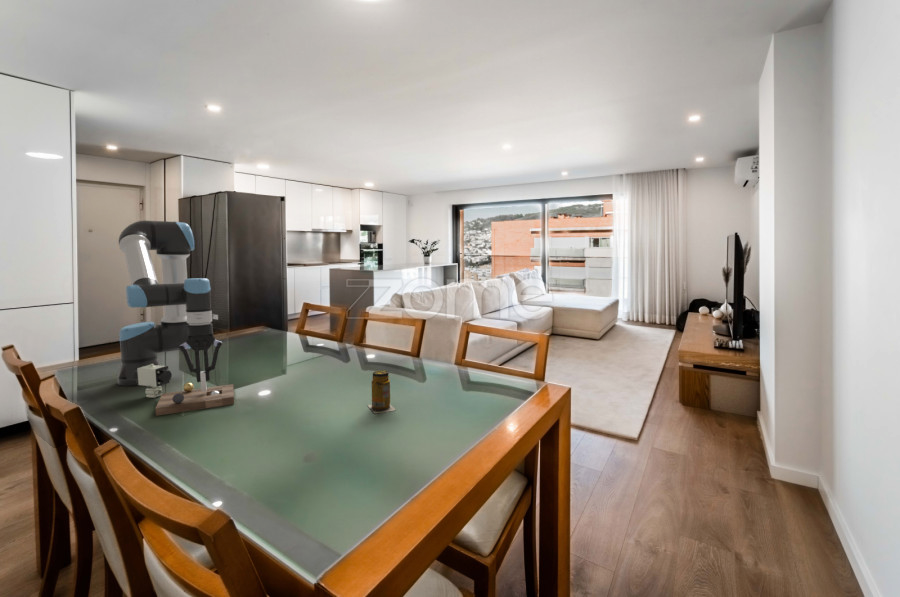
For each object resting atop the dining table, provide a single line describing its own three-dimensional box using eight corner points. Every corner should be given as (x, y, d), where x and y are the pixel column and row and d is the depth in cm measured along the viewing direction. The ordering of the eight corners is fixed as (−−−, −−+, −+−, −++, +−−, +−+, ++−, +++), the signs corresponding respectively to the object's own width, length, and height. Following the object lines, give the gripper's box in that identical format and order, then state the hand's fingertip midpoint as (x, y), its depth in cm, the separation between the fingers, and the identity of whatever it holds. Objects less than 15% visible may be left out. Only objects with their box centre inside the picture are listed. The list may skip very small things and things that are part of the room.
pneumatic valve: (162, 399, 145) (159, 366, 144) (134, 397, 147) (132, 364, 146) (175, 394, 150) (173, 362, 149) (149, 392, 153) (146, 361, 151)
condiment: (388, 402, 142) (387, 368, 141) (396, 410, 134) (395, 374, 133) (367, 405, 139) (366, 371, 137) (374, 414, 131) (373, 377, 130)
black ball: (173, 402, 135) (172, 392, 135) (184, 400, 137) (184, 391, 136) (172, 405, 132) (171, 395, 132) (183, 403, 134) (183, 394, 133)
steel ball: (207, 393, 145) (216, 387, 146) (213, 400, 146) (222, 394, 147) (207, 396, 142) (216, 390, 143) (213, 403, 143) (222, 397, 144)
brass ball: (183, 391, 147) (183, 382, 146) (194, 389, 148) (193, 381, 148) (183, 393, 144) (182, 384, 143) (193, 392, 145) (193, 383, 145)
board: (162, 400, 144) (162, 393, 144) (233, 390, 155) (233, 384, 154) (155, 415, 130) (155, 408, 130) (234, 403, 141) (233, 396, 140)
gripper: (175, 326, 134) (180, 396, 136) (221, 323, 140) (225, 390, 143) (178, 323, 141) (182, 390, 143) (221, 320, 147) (225, 384, 149)
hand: (204, 390), depth 143 cm, fingers closed
